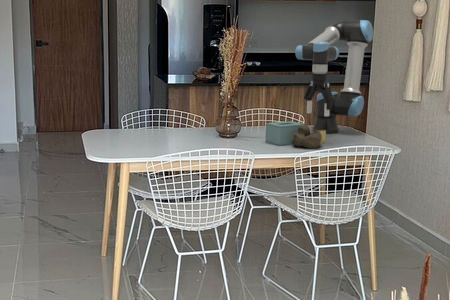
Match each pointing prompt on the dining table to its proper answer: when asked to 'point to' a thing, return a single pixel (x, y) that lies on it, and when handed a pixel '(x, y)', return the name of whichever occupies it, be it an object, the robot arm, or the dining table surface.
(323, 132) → the cream small block
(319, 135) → the decorative stone
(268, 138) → the coin box
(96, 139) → the dining table surface
